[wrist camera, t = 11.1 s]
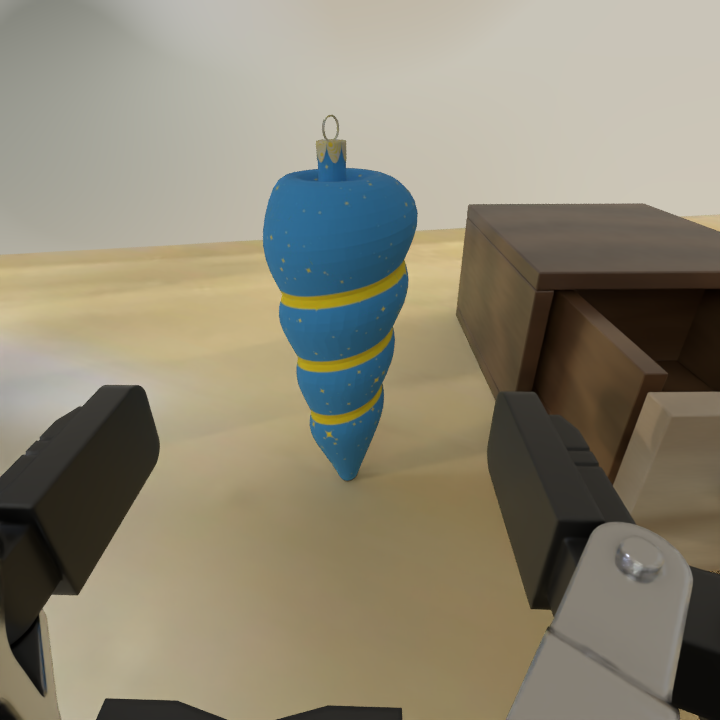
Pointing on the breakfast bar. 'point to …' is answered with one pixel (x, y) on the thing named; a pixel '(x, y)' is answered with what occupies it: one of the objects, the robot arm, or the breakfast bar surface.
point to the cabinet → (565, 271)
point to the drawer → (644, 402)
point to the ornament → (340, 291)
